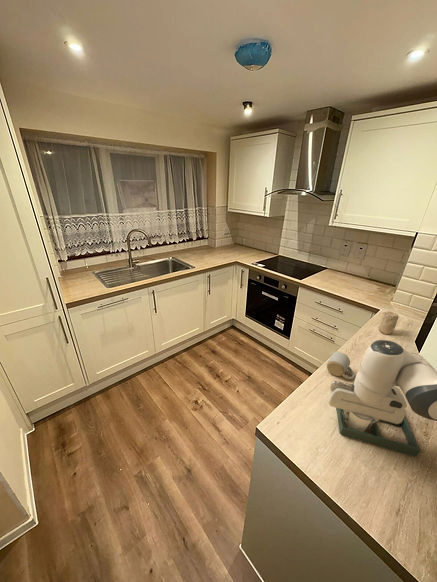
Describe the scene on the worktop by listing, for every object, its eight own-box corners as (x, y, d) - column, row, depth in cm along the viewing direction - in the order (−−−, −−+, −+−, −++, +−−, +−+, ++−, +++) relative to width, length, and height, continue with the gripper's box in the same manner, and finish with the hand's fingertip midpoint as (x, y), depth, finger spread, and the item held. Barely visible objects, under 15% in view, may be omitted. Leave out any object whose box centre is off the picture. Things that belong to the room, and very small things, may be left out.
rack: (391, 404, 86) (395, 395, 84) (414, 460, 68) (420, 450, 66) (331, 389, 92) (334, 380, 90) (338, 437, 74) (342, 427, 72)
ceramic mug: (323, 371, 101) (328, 357, 97) (329, 362, 106) (333, 348, 103) (350, 384, 95) (356, 370, 91) (355, 373, 100) (360, 359, 97)
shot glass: (348, 412, 81) (354, 397, 78) (370, 426, 76) (377, 411, 73) (339, 423, 77) (345, 408, 74) (362, 440, 72) (369, 424, 69)
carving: (395, 335, 128) (403, 316, 124) (381, 335, 128) (389, 316, 123) (387, 329, 134) (394, 310, 129) (374, 328, 134) (381, 310, 129)
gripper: (333, 387, 70) (323, 419, 76) (414, 407, 64) (396, 440, 70) (331, 373, 76) (322, 403, 81) (405, 390, 70) (389, 422, 76)
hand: (357, 420), depth 76 cm, fingers closed on shot glass, 5 cm apart
